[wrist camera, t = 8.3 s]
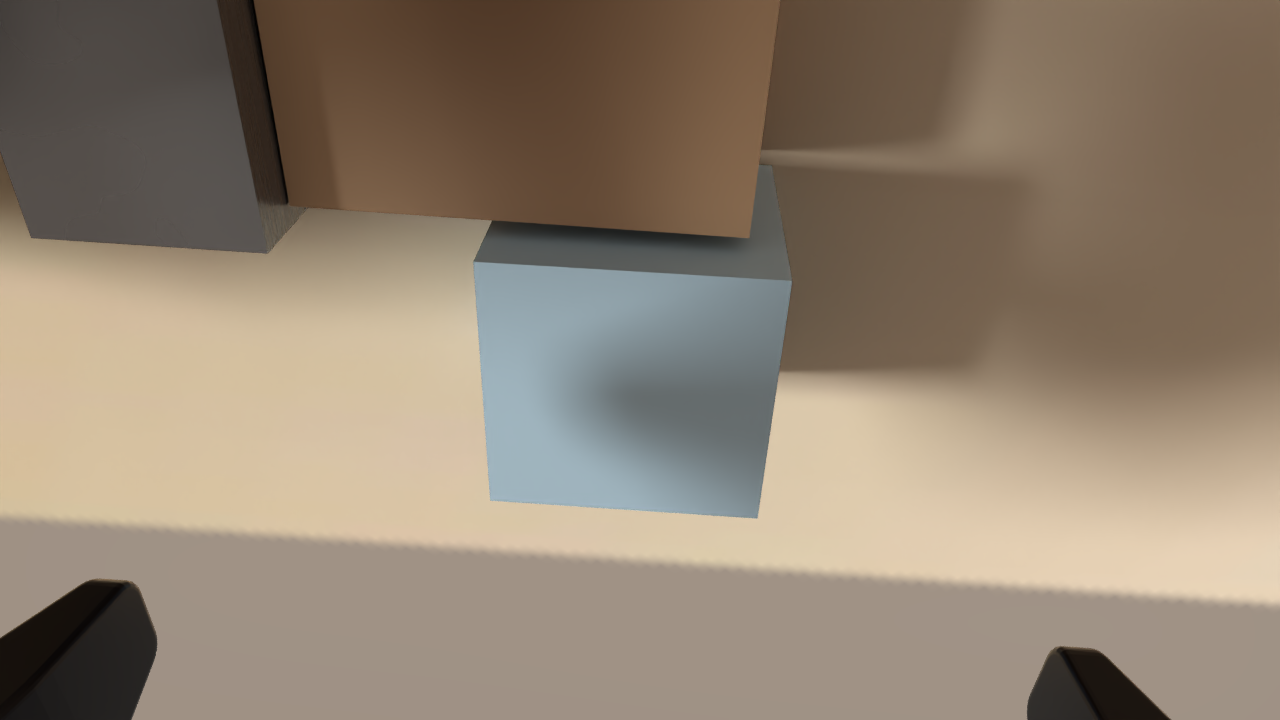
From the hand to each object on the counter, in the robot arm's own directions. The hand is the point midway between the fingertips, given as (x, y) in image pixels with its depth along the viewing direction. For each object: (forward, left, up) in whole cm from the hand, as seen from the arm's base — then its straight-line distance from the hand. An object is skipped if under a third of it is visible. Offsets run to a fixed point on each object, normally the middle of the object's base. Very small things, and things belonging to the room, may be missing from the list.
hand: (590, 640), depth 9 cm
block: (0, 0, -8) cm, 8 cm away
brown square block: (+1, +5, -8) cm, 10 cm away
